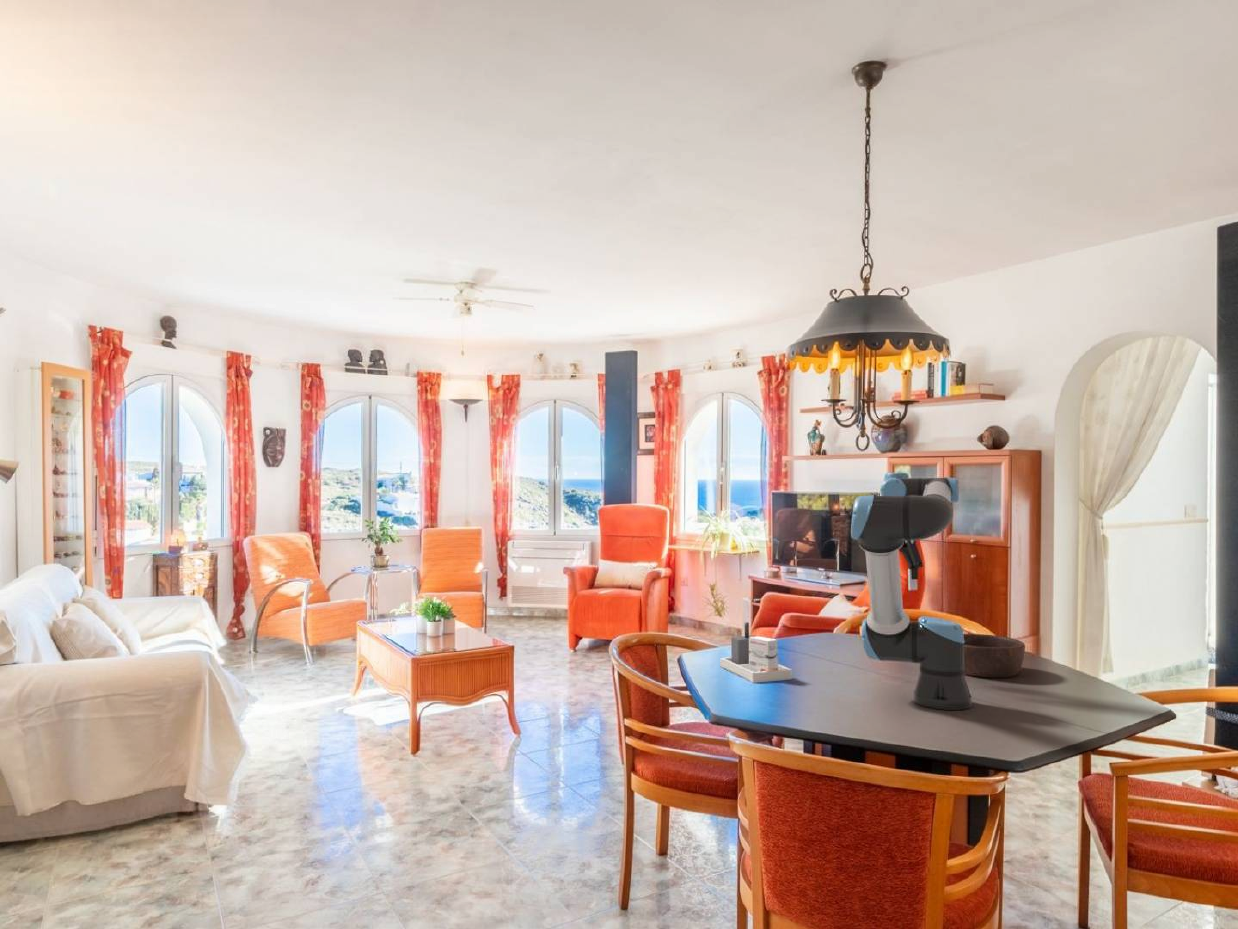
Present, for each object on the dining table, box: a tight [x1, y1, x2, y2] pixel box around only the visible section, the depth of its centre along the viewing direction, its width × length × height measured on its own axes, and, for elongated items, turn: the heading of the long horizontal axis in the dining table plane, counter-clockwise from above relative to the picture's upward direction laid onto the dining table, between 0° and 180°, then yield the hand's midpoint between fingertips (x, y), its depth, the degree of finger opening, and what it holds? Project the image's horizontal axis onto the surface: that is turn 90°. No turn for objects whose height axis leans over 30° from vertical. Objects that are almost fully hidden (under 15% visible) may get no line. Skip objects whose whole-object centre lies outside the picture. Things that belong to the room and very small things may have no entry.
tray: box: [719, 656, 793, 683], centre depth 251 cm, size 23×14×3 cm, turn 18°
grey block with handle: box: [730, 621, 758, 665], centre depth 257 cm, size 5×9×15 cm, turn 108°
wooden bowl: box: [963, 633, 1026, 679], centre depth 253 cm, size 25×25×10 cm
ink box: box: [749, 635, 779, 672], centre depth 246 cm, size 8×5×12 cm, turn 39°
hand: (898, 587), depth 245 cm, fingers open, 13 cm apart
